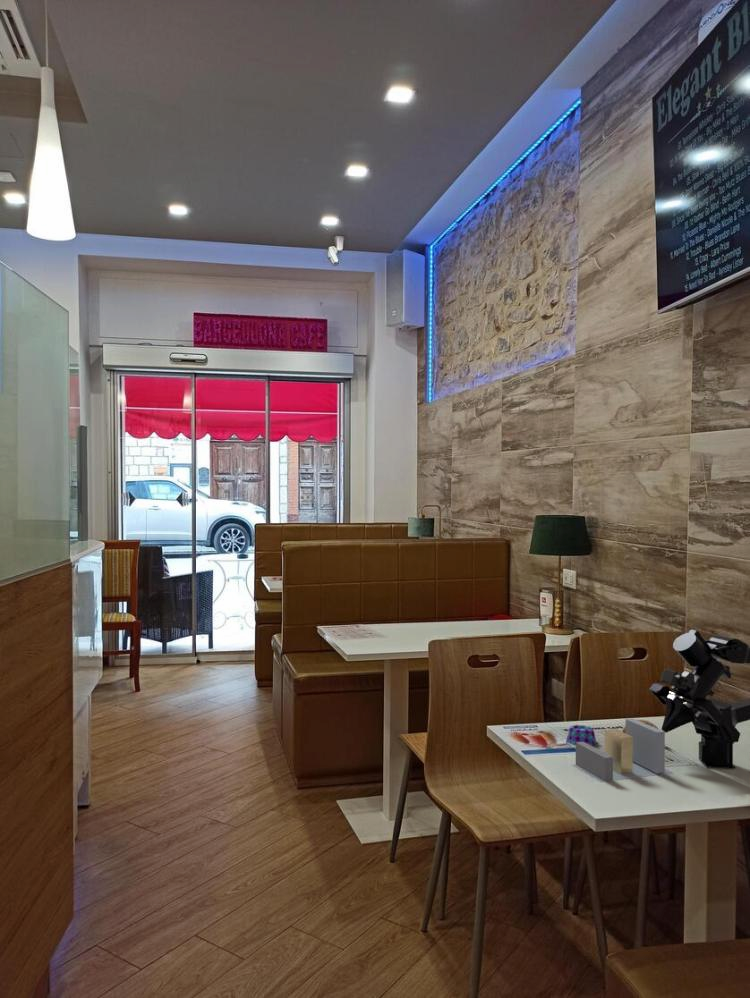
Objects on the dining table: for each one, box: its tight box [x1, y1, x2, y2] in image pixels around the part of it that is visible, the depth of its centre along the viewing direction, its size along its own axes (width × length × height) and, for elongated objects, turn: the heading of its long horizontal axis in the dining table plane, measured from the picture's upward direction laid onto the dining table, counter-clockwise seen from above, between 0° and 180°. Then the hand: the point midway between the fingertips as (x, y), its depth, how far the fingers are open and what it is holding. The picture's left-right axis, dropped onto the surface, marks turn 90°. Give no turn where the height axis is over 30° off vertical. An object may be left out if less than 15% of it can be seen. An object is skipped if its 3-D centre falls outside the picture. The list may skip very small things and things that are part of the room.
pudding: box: [556, 724, 597, 747], centre depth 187 cm, size 12×12×5 cm
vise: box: [571, 742, 674, 783], centre depth 167 cm, size 19×11×6 cm, turn 108°
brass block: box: [604, 728, 633, 775], centre depth 167 cm, size 3×6×8 cm, turn 18°
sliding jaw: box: [625, 717, 666, 774], centre depth 169 cm, size 2×11×9 cm, turn 18°
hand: (663, 731), depth 171 cm, fingers closed
